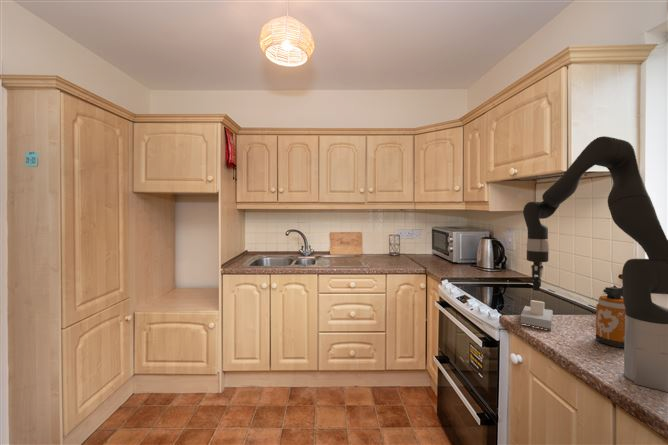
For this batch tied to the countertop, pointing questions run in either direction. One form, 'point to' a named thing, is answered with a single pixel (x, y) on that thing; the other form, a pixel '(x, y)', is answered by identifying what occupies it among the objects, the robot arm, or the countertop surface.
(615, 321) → the canister
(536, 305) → the cream rectangular block
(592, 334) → the countertop surface
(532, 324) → the grey rectangular block
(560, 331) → the countertop surface
